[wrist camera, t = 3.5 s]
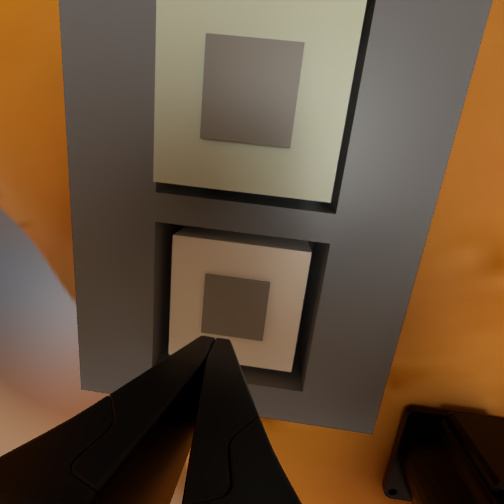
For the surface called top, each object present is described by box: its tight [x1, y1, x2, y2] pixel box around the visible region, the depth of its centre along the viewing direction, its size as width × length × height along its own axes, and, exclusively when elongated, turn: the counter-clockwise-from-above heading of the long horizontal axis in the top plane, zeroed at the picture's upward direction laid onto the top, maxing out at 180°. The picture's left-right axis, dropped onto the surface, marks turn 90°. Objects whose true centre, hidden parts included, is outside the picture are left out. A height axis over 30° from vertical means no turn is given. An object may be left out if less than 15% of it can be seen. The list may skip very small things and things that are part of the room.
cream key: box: [168, 226, 312, 372], centre depth 13 cm, size 5×5×3 cm
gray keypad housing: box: [59, 0, 492, 434], centre depth 12 cm, size 23×12×5 cm, turn 174°
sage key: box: [153, 0, 367, 203], centre depth 9 cm, size 5×5×3 cm
